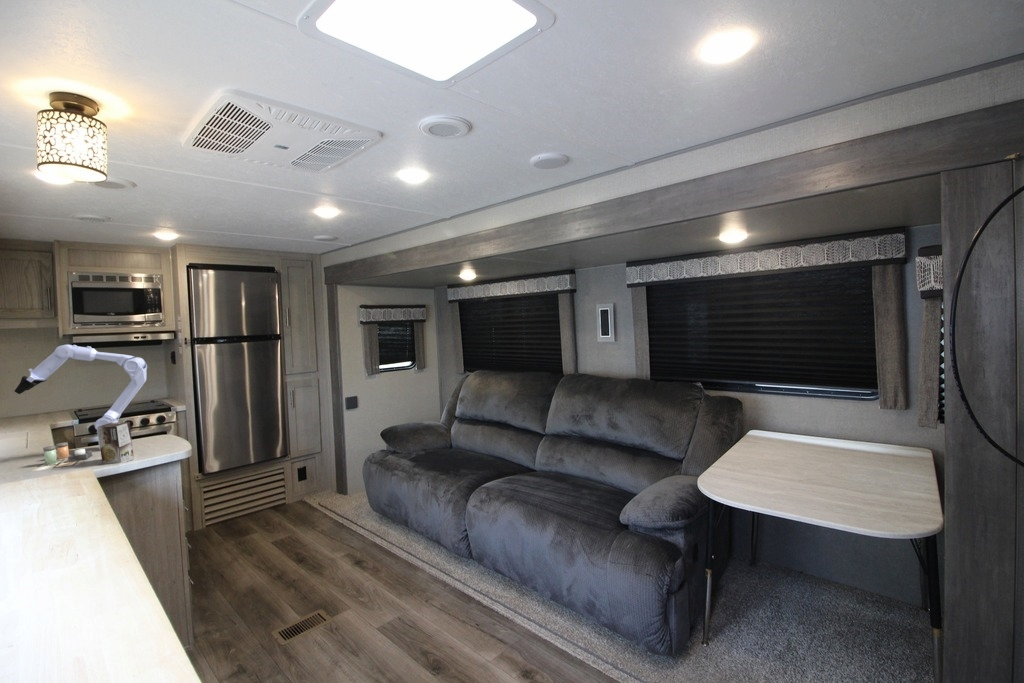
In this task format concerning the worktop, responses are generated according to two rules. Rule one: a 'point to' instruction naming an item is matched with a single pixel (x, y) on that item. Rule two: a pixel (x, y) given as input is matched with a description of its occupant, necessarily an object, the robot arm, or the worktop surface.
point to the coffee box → (115, 442)
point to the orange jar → (62, 450)
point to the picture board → (67, 461)
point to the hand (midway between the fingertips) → (21, 390)
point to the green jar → (50, 455)
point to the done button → (79, 451)
